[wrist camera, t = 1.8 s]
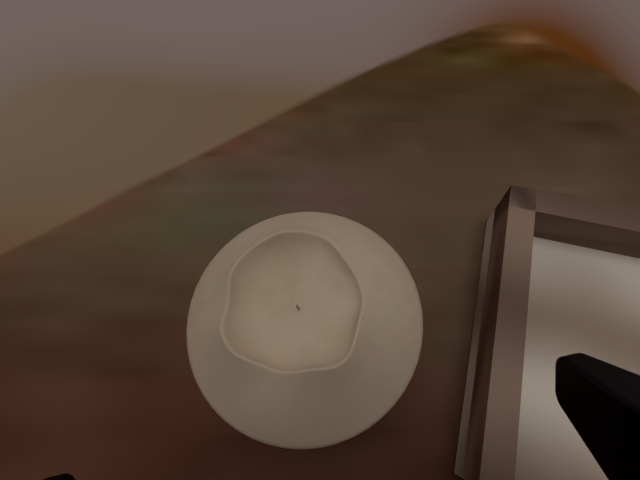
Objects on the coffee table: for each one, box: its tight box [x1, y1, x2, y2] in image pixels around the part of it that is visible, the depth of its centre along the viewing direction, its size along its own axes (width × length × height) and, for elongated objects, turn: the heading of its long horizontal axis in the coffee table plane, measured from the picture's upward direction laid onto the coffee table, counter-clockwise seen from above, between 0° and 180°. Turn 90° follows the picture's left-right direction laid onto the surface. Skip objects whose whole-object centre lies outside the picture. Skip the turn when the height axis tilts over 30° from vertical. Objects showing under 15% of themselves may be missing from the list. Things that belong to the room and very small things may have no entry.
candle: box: [186, 212, 423, 450], centre depth 12 cm, size 6×6×10 cm
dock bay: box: [454, 185, 640, 480], centre depth 14 cm, size 11×11×3 cm
